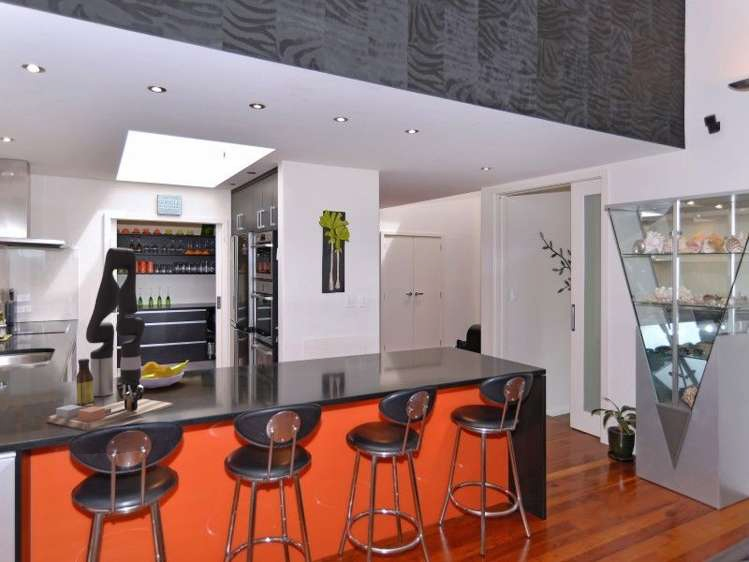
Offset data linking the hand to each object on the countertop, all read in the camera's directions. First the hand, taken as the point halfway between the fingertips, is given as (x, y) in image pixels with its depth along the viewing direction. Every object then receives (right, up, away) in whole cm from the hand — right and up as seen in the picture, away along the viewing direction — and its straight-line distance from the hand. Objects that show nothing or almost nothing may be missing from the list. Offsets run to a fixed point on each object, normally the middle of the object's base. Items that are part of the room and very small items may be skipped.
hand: (130, 409), depth 210 cm
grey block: (-16, -1, -10) cm, 19 cm away
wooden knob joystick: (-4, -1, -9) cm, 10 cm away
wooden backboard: (-6, -2, -1) cm, 7 cm away
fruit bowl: (-10, 0, +51) cm, 51 cm away
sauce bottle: (-25, -1, +11) cm, 27 cm away
